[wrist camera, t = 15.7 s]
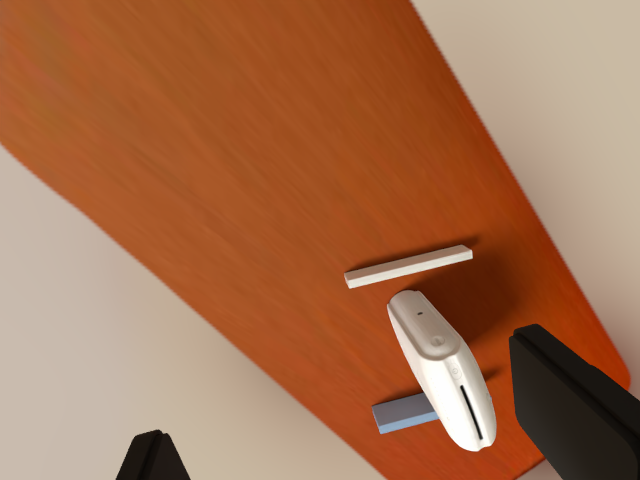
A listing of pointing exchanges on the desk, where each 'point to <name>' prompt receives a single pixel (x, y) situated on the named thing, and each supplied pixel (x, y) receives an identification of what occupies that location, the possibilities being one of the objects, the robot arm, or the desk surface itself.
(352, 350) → the desk surface
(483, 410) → the photo printer
